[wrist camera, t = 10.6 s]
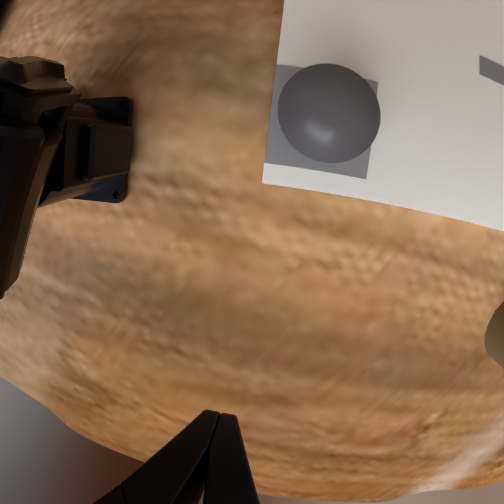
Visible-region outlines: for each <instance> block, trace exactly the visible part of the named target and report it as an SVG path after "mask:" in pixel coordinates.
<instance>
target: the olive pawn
mask: <svg viewBox="0 0 504 504" xmlns="http://www.w3.org/2000/svg"><path fill="white" fill-rule="evenodd" d="M485 347H486V351H487V353H488V354H489V355H490V356H491V357H492V358H493V359H494V360H495V361H496V362H497V363H498V364H500V365H501V366H502V367H503V368H504V302H503V303H502V305H501V306H500V307H499V308H498V309H497V310H496V312H495V314H494V315H493V317H492V319H491V320H490V322H489V325H488V328H487V331H486V335H485Z"/></svg>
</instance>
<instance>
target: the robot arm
mask: <svg viewBox="0 0 504 504" xmlns="http://www.w3.org/2000/svg"><path fill="white" fill-rule="evenodd" d="M66 80H67V79H65V74H64V65H62V64H60V63H59V62H57V61H53V60H49V59H45V58H40V57H35V56H25V57H13V58H5V57H1V56H0V299H2V298H3V297H4V293H5V291H6V290H8V289H9V287H10V286H11V285H12V284H13V283H14V282H15V281H16V280H17V279H18V276H19V273H20V270H21V267H22V263H23V259H24V254H25V250H26V246H27V242H28V238H29V234H30V230H31V227H32V223H33V220H34V216H35V213H36V209H37V208H39V207H43V206H46V205H49V204H52V203H55V202H59V201H62V200H66V199H69V198H72V199H82V200H91V201H101V202H110V203H120V202H122V201H124V199H125V198H126V188H127V173H128V171H129V170H130V157H131V144H132V133H133V131H132V129H131V121H132V112H133V101H132V99H131V98H128V97H106V98H92V99H80V100H79V98H80V96H81V94H82V93H81V92H79V91H78V90H76V89H74V88H73V86H72V85H71V84H69V83H68V82H66ZM124 102H126V103H127V105H126V107H125V108H123V103H124ZM117 191H118V192H119V194H120V196H119V198H118V197H117V196H116V192H117ZM203 492H204V497H203V504H260V503H259V499H258V496H257V492H256V488H255V485H254V481H253V477H252V474H251V470H250V466H249V463H248V459H247V455H246V451H245V447H244V443H243V439H242V435H241V431H240V427H239V423H238V419H237V417H236V415H232V414H227V413H221V415H220V413H219V412H217V411H212V410H204V411H203V412H202V413H201V414H200V415H198V416H197V417H196V418H195V419H194V420H193V421H192V422H191V423H190V424H189V425H187V426H186V427H185V428H184V429H183V430H182V431H181V432H180V433H179V434H177V435H176V436H175V437H174V438H173V439H172V440H171V441H169V442H168V443H167V444H166V445H165V446H164V447H163V448H161V449H160V450H159V451H158V452H157V453H156V454H154V455H153V456H152V457H151V458H150V459H149V460H147V461H146V462H145V463H144V464H143V465H141V466H140V467H139V468H138V469H137V470H135V471H134V472H133V473H132V474H130V475H129V476H128V477H127V478H125V479H124V480H123V481H122V482H121V483H120V485H119V484H118V485H117V486H115V487H114V488H113V489H111V490H110V491H109V492H108V493H106V494H105V495H103V496H102V497H100V498H99V499H98V500H96V501H95V502H93V503H92V504H199V502H200V499H201V497H202V494H203Z"/></svg>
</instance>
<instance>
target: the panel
mask: <svg viewBox="0 0 504 504" xmlns="http://www.w3.org/2000/svg"><path fill="white" fill-rule="evenodd" d="M322 63H329V64H337V65H341V66H344V67H346V68H349V69H351V70H353V71H354V72H356V73H357V74H359V75H360V76H361V77H362V78H364V79H365V80H366V81H367V83H368V84H369V85H370V86H371V88H372V89H373V91H374V93H375V95H376V97H377V99H378V102H379V106H380V113H381V120H380V127H379V130H378V133H377V136H376V138H375V140H374V141H373V143H372V144H371V146H370V147H369V148H368V149H367V150H366V151H365V152H363V153H362V154H361V155H359V156H358V157H356V158H354V159H351V160H349V161H345V162H340V163H324V162H320V161H316V160H313V159H310V158H308V157H306V156H304V155H302V154H300V153H299V152H297V151H296V150H295V149H294V148H293V147H292V146H291V145H290V144H289V142H288V141H287V139H286V137H285V135H284V133H283V132H282V129H281V127H280V124H279V119H278V111H277V110H278V101H279V97H280V94H281V91H282V89H283V87H284V85H285V84H286V83H287V81H288V80H289V79H290V78H291V77H292V76H293V75H294V74H295V73H297V72H298V71H300V70H302V69H303V68H306V67H308V66H311V65H315V64H322ZM262 183H265V184H273V185H280V186H287V187H293V188H300V189H306V190H313V191H319V192H325V193H331V194H337V195H342V196H348V197H354V198H359V199H365V200H370V201H375V202H380V203H385V204H390V205H395V206H400V207H405V208H410V209H414V210H419V211H423V212H428V213H432V214H437V215H441V216H445V217H450V218H454V219H458V220H462V221H466V222H470V223H474V224H478V225H482V226H486V227H490V228H493V229H497V230H501V231H504V0H285V1H284V9H283V17H282V25H281V33H280V41H279V49H278V57H277V64H276V72H275V80H274V88H273V96H272V104H271V112H270V120H269V128H268V136H267V144H266V152H265V160H264V170H263V178H262Z"/></svg>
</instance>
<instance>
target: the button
mask: <svg viewBox="0 0 504 504" xmlns="http://www.w3.org/2000/svg"><path fill="white" fill-rule="evenodd" d="M277 111H278V119H279V124H280V127H281V129H282V132H283V133H284V135H285V137H286V139H287V141H288V142H289V144H290V145H291V146H292V147H293V148H294V149H295V150H296V151H297V152H299V153H300V154H302V155H304V156H306V157H308V158H310V159H313V160H316V161H320V162H324V163H340V162H345V161H349V160H351V159H354V158H356V157H358V156H359V155H361V154H362V153H363V152H365V151H366V150H367V149H368V148H369V147H370V146H371V144H372V143H373V141H374V140H375V138H376V136H377V133H378V130H379V127H380V120H381V113H380V106H379V102H378V99H377V97H376V95H375V93H374V91H373V89H372V88H371V86H370V85H369V84H368V83H367V81H366V80H365V79H364V78H362V77H361V76H360V75H359V74H357V73H356V72H354V71H353V70H351V69H349V68H346V67H344V66H341V65H337V64H329V63H322V64H315V65H311V66H308V67H306V68H303V69H302V70H300V71H298V72H297V73H295V74H294V75H293V76H292V77H291V78H290V79H289V80H288V81H287V83H286V84H285V85H284V87H283V89H282V91H281V94H280V97H279V101H278V110H277Z"/></svg>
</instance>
